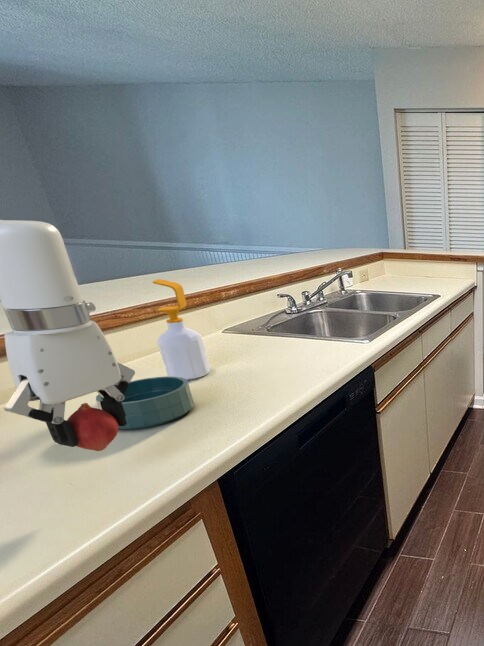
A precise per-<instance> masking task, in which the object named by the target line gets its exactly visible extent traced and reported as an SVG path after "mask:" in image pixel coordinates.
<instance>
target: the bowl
mask: <svg viewBox="0 0 484 646" xmlns="http://www.w3.org/2000/svg"><path fill="white" fill-rule="evenodd" d="M188 381H189V380H186V379H184V378H181V377H168V376H155V377H146V378H141V379H136V380H131V381H130V382H129V383H128V384H129V386H128V388H127V389H126V391H125V393H124V400H123V401H121V403H122V406H123V409H124V412H125V415H126V417H125V419H126V422H127V425H125V426H119V430H139V429H147V428H152V427H156V426H160V425H165V424H167V423H170V422H172V421H175V420H177V419H179V418H181V417H183V416H184V415H186V414H187V413H188V412H189V411H190V410H192V409H193V408H194V406H195V402H194V397H193V395H192V391H191V387H190V384H189V382H188ZM102 400H103V398H102V397H101V396H100V395H99V394H98V393H97V395H96V397H95V402H96V405H97V406H98V409H101V410H102V407H101V405H100V403H101V402H100V401H102Z"/></svg>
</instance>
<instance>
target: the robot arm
mask: <svg viewBox="0 0 484 646" xmlns="http://www.w3.org/2000/svg"><path fill="white" fill-rule="evenodd" d="M0 304H1V306H2V309H3V311H4V314H5V316H6V318H7V321H8V323H9V326H10V328H11V330H12V331H8V332H5V333H4V346H5V353H6V358H7V363H8V367H9V370H10V373H11V377H12V380H13V384H14V386H15V388H16V389H15V391H14V392H13V394H12V395H11V397H10V398H9V399H8V401H7V403H6V404H5V406H4V411H5V412H7V413H10V414H14V415H18V416H23V417H26V418H29V419H33V420H36V421H40V422H42V423H45V424H46V427H47V430H48V431H49V434H50V436H51V438H52V441H54V443H56V444H58V445H59V446H66V447H70V448H75V447H77V445H78V444H79V442H78V439H77V437H76V434H75V432H74V429H73V427H72V424H71V422H70V421H67V419H66V420H65V412H66V403H67V402H68V401H72V400H75V399H78V398H81V397H84V396H86V395H90V394H93V393H97V395H98V394H99V395H100V396H101V397H102V398H103V400H102V401H100V402H101V403H100V405H101V407H102V410H104V411H106V412H108V413H109V414H110V415H112V416H113V417H114V418H115V419H116V420H117V422H118V426H125V425H127V422H126V419H125V417H126V415H125V412H124V409H123V406H122V403H121V401H123V400H124V393H125V391H126V389H127V388H128V386H129V384H128V383H129V382H131V381H132V379H133V378H134V376H135V375H136V371H135V370H134V369H133V368H130V367H129V366H126V365H124V364H122V363H120V362H118V361H117V358H116V356H115V354H114V352H113V349H112V347H111V345H110V344H109V341H108V339H107V338H106V336H105V334H104V333H103V331H102V328H100V326H99V324H98V323H97V322H96V321H95V320H91V315H90V313H92V312H96V309H97V307H96V306H95V304H94V303H93V302H90V301H89V302H86V301H85V300H84V298H83V295H82V292H81V289H80V285H79V283H78V281H77V277H76V275H75V271H74V269H73V266H72V263H71V260H70V257H69V255H68V251H67V248H66V246H65V242H64V239H63V237H62V234H61V233H60V231H59V230H58V228H57V227H55V226H54V225H53V224H51V223H50V222H49V223H48V222H45V221H40V220H23V219H22V220H20V219H19V220H17V219H12V220H11V219H9V220H6V219H0ZM36 401H39V405H38V409H37V408H35V407H31V406H29V402H36Z"/></svg>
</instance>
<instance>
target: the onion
mask: <svg viewBox="0 0 484 646" xmlns="http://www.w3.org/2000/svg"><path fill="white" fill-rule="evenodd" d="M66 421H70V422H71V424H72V427H73V429H74V432H75V434H76V437H77V439H78V442H79V444H78V445H77V446H76V447H77V448H81V449H83V450H89V451H95V452H101V451H104V450H106V448H107V447H108V446H109V445H110V444H111V443H112V442H113V441H114V440H115V438H116V437H117V435H118V432H119V430H120V428H119V426H118V422H117V420H116V419H115V418H114V417H113V416H112V415H110V414H109V413H108V412H106V411H104V410H101V409H99V408H97V407H92V406H90V404H88V403H87V402H83V403H81V404H80V406H79V407H78V408H77V410H75V411H74V412H73V413H72V414H70V416H69V417H68V418H67V419H66Z"/></svg>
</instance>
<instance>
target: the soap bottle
mask: <svg viewBox="0 0 484 646" xmlns="http://www.w3.org/2000/svg"><path fill="white" fill-rule="evenodd" d="M152 284H153V285H159V286H163V287H167V288H170V289H171V290H173V292H174V294H175V298H176V302H177V305H173V306H171V305H170V306H162V307H160V308H158V309H157V311H158V312H164V313H165V315H168V319H166V321H165V322H166V325H167V330H166V331H164V332H162V333H161V334H160V335H159V337H158V338H157V342H156V343H157V346H158V349H159V352H160V355H161V358H162V363H163V365H164V368H165V372H166V375H167V377H181V378H184V379H186V380H187V381H191V380H195V379H199V378H202V377H205V376H206V375H208V374H210V373H211V367H210V362H209V358H208V355H207V351H206V348H205V343H204V339H203V336H202V335H201V334H200V333H199V331H196V330H194V329H191V328H188V327H186V326H185V323H184V320H183V318H182V317H179V316H178V314H180V310H182V309H184V308H186V307H187V305H188V302H187V299H186V295H185V291H184V287H183V286H182V285H181V284H180V283H177V282H174V281H169V280H165V279H162V278H161V279H160V278H158V279H154V280H152Z"/></svg>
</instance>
